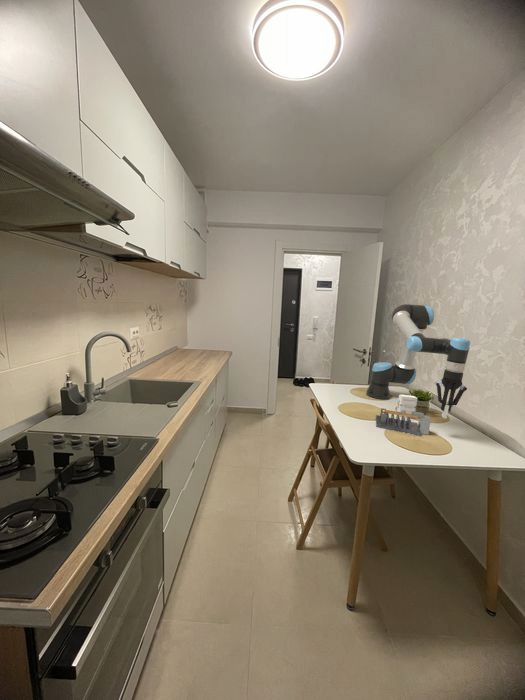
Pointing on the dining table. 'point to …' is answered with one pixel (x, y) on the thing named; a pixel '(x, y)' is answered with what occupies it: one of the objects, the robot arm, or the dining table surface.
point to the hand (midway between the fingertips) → (444, 417)
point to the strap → (398, 413)
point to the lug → (423, 422)
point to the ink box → (406, 404)
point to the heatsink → (397, 423)
